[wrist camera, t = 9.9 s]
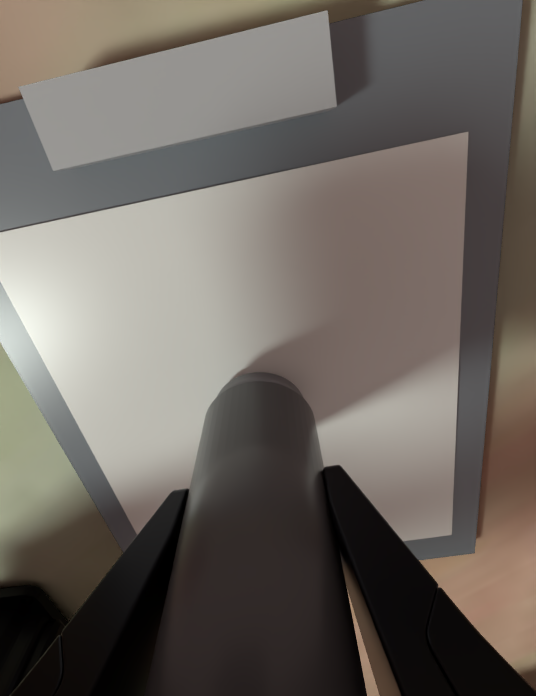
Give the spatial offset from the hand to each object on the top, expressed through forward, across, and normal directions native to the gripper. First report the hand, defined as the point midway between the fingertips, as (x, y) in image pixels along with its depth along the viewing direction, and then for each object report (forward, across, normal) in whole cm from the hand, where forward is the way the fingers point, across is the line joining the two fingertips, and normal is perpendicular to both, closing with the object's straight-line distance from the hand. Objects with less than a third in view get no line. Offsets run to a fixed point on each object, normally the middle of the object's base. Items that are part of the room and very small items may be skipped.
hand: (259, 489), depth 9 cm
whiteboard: (+4, 0, 0) cm, 4 cm away
